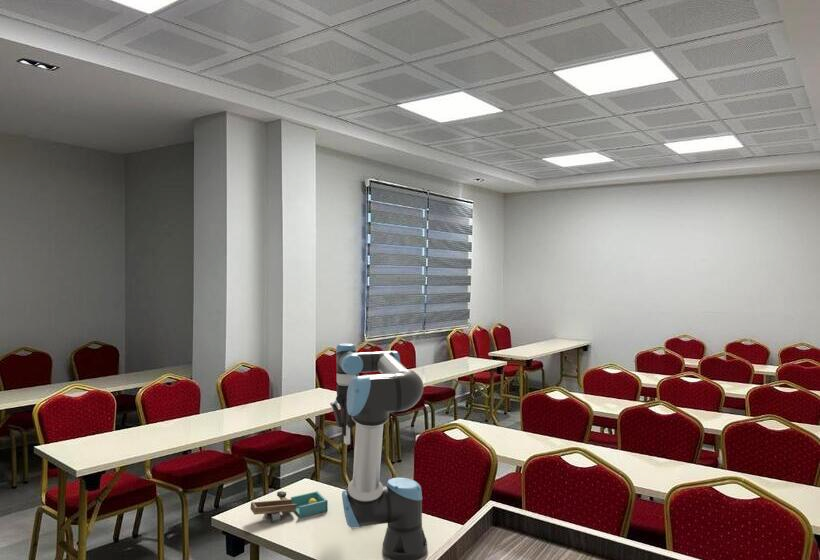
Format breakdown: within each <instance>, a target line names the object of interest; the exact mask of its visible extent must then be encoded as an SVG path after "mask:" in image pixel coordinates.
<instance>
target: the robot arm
mask: <svg viewBox="0 0 820 560" xmlns="http://www.w3.org/2000/svg"><path fill="white" fill-rule="evenodd" d="M335 350H336V352H335V354H336V355H335V356H336V357H335V358H336V359H335V360H336V383H337V385H336V397H335V400H334V401H333V402H330V406H331V408H332V411H333V414H334V418H335V419H334V420H335V422H336V426H338V427H339V428H341V435H342V436H343V444H345V445H347V446H348V445H351V435H352V434H353V428H354V426H355V432H354V433H355V434H354V437H355V438H354V450H353V451H354V452H353V453H354V454H353V469H352V474H353V475H352V480H350V481H349V483H348V485H347V489H345V490H343V491H342V493H341V499H342V507H343V511H344V517H345V522H346V525H347V526H348V527H349V528H351V529H352V528H354V529H355V528H363V527H368V526H377V525H381V524H382V525H383V524H387V528H386V531H385V534H384V538H383V540H382V554H383V555H385V556H386V557H387V558H388V559H390V560H418V559H421V558H423V557H424V556H425V555H426V554H427V552H428V540H427V538H426V535H425V530H424V528H423V494H422V487H421V485H420V483H418V482H417V481H416V480H414V479H411V478H406V477H391V478H389V479H388V480H387V481H386V485H383V484H382V482H381V480H380V475H381V474H380V473H381V464H382V463H381V461H382V447H383V435H384V425H385V424H386V423H387V422H388V421H389V419H390V413H398V412H404V411H407V410H409V409H411V408H413V407H414V406H415V405H417V404H418V403H419V401H420V400H421V398H422V396H423V393H424V383H423V379H422V378H421V376H420V375H419V374H418V373H416V372H415V371H414V370H411V369H407V368H406V367H405V365H403V364H402V362H401V357H400V354H399V352H398V351H396V350H384V351H366V352H365V351H364V352H363V351H362V352H357V350H356V344H354V343H339V344H337V345H336V348H335ZM376 372H378V373H380V374H363V373H376ZM360 373H362V374H363V375H358V374H360ZM338 406H340V411H339V407H338Z"/></svg>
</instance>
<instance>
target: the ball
mask: <svg viewBox="0 0 820 560" xmlns="http://www.w3.org/2000/svg"><path fill="white" fill-rule="evenodd" d="M316 502H317V501H316V499H314V498H312V499H310V500H309V504H312V503H316Z"/></svg>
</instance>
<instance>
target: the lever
mask: <svg viewBox="0 0 820 560" xmlns="http://www.w3.org/2000/svg"><path fill="white" fill-rule="evenodd" d="M276 494H277V495H276V496H277V497H278V498H279V499H276V500H275V499H274V500H267V501H266V500H264V501H263V500H262V501H252V502H250V508H249V509H250V510H251V512H252V513H253V515H256V516H257V515H265V514H267V513H276V512H280V513H286V512H287V513H288V512H295V511H296V505H297V504H292V499H291V498H290V499H289V498H287V492H286V491H278V492H277V493H276Z"/></svg>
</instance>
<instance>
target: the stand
mask: <svg viewBox="0 0 820 560" xmlns="http://www.w3.org/2000/svg"><path fill="white" fill-rule="evenodd" d="M264 515H265V517H266V518H267V520H268V521H269V522H270V524H276V523H280V522H283V518H281V512H276V513H267V514H264Z"/></svg>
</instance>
